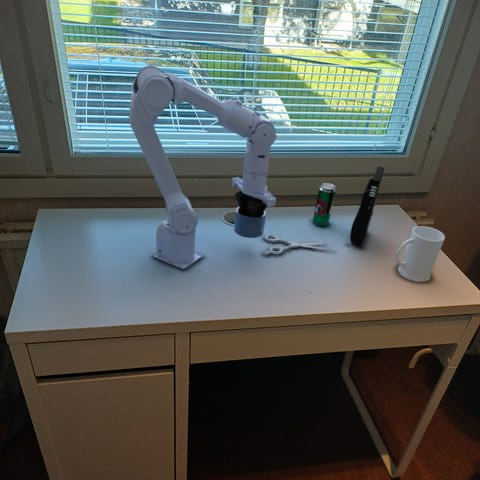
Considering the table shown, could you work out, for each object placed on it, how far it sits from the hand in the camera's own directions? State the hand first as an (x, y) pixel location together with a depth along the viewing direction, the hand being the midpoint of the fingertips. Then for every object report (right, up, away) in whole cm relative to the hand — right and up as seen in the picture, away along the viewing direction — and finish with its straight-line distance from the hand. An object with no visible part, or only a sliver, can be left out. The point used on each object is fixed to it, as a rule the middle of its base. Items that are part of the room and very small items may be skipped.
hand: (249, 222), depth 121 cm
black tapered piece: (+32, -1, +19) cm, 38 cm away
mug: (+43, -13, +6) cm, 45 cm away
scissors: (+14, -5, +12) cm, 18 cm away
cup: (0, -2, +1) cm, 2 cm away
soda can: (+22, +5, +26) cm, 34 cm away
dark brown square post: (0, -2, +1) cm, 2 cm away
